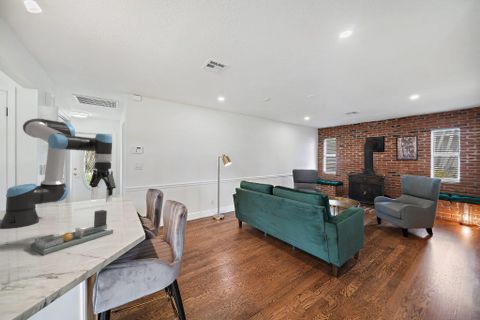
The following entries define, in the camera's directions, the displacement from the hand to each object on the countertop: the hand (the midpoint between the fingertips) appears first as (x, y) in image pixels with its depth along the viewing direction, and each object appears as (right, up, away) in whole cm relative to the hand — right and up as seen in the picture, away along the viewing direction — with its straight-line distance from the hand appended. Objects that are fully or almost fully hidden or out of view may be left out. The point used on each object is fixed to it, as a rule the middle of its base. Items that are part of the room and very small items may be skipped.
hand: (101, 200), depth 104 cm
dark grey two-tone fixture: (-2, -17, -3) cm, 17 cm away
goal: (-10, -18, -19) cm, 28 cm away
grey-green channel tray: (-6, -18, -10) cm, 21 cm away
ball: (-7, -15, -13) cm, 21 cm away
